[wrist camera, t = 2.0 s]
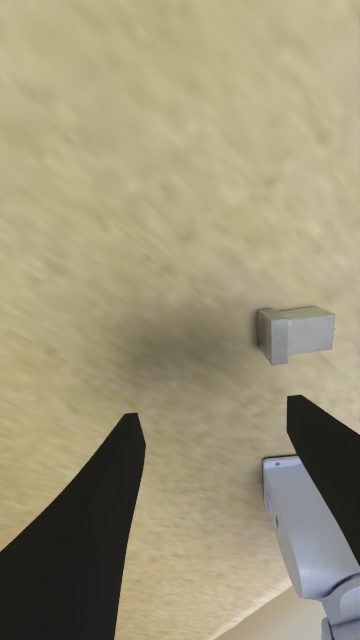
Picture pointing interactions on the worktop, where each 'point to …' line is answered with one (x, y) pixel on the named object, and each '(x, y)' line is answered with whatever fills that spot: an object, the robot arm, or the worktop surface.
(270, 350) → the grey stepped block
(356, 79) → the worktop surface
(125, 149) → the worktop surface
